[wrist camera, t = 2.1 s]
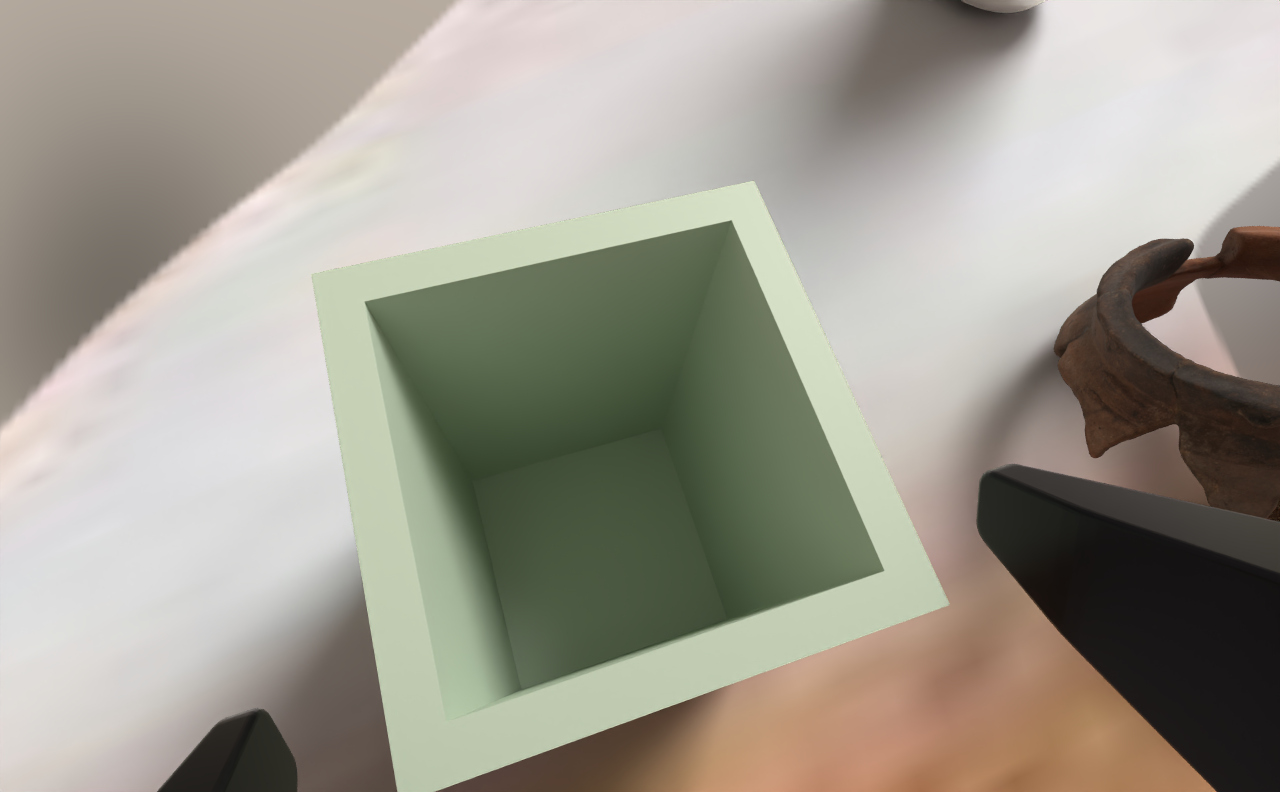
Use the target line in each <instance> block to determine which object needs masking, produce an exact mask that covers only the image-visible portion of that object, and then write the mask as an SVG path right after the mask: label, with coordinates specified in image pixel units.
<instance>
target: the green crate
mask: <svg viewBox="0 0 1280 792" xmlns="http://www.w3.org/2000/svg"><path fill="white" fill-rule="evenodd" d="M311 276H312V282H313V288H314V294H315V300H316V306H317V312H318V318H319V324H320V330H321V336H322V342H323V348H324V354H325V360H326V366H327V372H328V378H329V384H330V390H331V396H332V402H333V408H334V414H335V420H336V426H337V432H338V438H339V444H340V450H341V456H342V462H343V468H344V474H345V480H346V486H347V492H348V498H349V504H350V510H351V516H352V522H353V528H354V534H355V540H356V546H357V552H358V558H359V564H360V570H361V576H362V582H363V588H364V594H365V600H366V606H367V612H368V618H369V624H370V630H371V636H372V642H373V648H374V654H375V660H376V666H377V672H378V678H379V684H380V690H381V696H382V702H383V708H384V714H385V720H386V726H387V732H388V738H389V744H390V750H391V756H392V762H393V768H394V774H395V780H396V786H397V792H435V791H438V790H441V789H444V788H446V787H449V786H452V785H455V784H457V783H460V782H463V781H466V780H468V779H471V778H474V777H477V776H480V775H482V774H485V773H488V772H491V771H493V770H496V769H499V768H502V767H504V766H507V765H510V764H513V763H515V762H518V761H521V760H524V759H526V758H529V757H532V756H535V755H537V754H540V753H543V752H546V751H548V750H551V749H554V748H557V747H559V746H562V745H565V744H568V743H570V742H573V741H576V740H579V739H582V738H584V737H587V736H590V735H593V734H595V733H598V732H601V731H604V730H606V729H609V728H612V727H615V726H617V725H620V724H623V723H626V722H628V721H631V720H634V719H637V718H639V717H642V716H645V715H648V714H650V713H653V712H656V711H659V710H661V709H664V708H667V707H670V706H672V705H675V704H678V703H681V702H684V701H686V700H689V699H692V698H695V697H697V696H700V695H703V694H706V693H708V692H711V691H714V690H717V689H719V688H722V687H725V686H728V685H730V684H733V683H736V682H739V681H741V680H744V679H747V678H750V677H752V676H755V675H758V674H761V673H763V672H766V671H769V670H772V669H774V668H777V667H780V666H783V665H785V664H788V663H791V662H794V661H797V660H799V659H802V658H805V657H808V656H810V655H813V654H816V653H819V652H821V651H824V650H827V649H830V648H832V647H835V646H838V645H841V644H843V643H846V642H849V641H852V640H854V639H857V638H860V637H863V636H865V635H868V634H871V633H874V632H876V631H879V630H882V629H885V628H887V627H890V626H893V625H896V624H899V623H901V622H904V621H907V620H910V619H912V618H915V617H918V616H921V615H923V614H926V613H929V612H932V611H934V610H937V609H940V608H943V607H945V606H948V605H950V604H949V602H948V600H947V597H946V595H945V593H944V591H943V589H942V587H941V584H940V582H939V580H938V578H937V576H936V574H935V571H934V569H933V567H932V565H931V563H930V561H929V558H928V556H927V554H926V552H925V550H924V548H923V545H922V543H921V541H920V539H919V537H918V535H917V532H916V530H915V528H914V526H913V524H912V522H911V519H910V517H909V515H908V513H907V511H906V509H905V506H904V504H903V502H902V500H901V498H900V496H899V493H898V491H897V489H896V487H895V485H894V483H893V480H892V478H891V476H890V474H889V472H888V470H887V467H886V465H885V463H884V461H883V459H882V457H881V454H880V452H879V450H878V448H877V446H876V444H875V441H874V439H873V437H872V435H871V433H870V431H869V428H868V426H867V424H866V422H865V420H864V418H863V415H862V413H861V411H860V409H859V407H858V405H857V402H856V400H855V398H854V396H853V394H852V392H851V389H850V387H849V385H848V383H847V381H846V379H845V376H844V374H843V372H842V370H841V368H840V366H839V363H838V361H837V359H836V357H835V355H834V353H833V350H832V348H831V346H830V344H829V342H828V340H827V337H826V335H825V333H824V331H823V329H822V327H821V324H820V322H819V320H818V318H817V316H816V314H815V311H814V309H813V307H812V305H811V303H810V301H809V298H808V296H807V294H806V292H805V290H804V288H803V285H802V283H801V281H800V279H799V277H798V275H797V272H796V270H795V268H794V266H793V264H792V262H791V259H790V257H789V255H788V253H787V251H786V249H785V246H784V244H783V242H782V240H781V238H780V236H779V233H778V231H777V229H776V227H775V225H774V223H773V220H772V218H771V216H770V214H769V212H768V210H767V207H766V205H765V203H764V201H763V199H762V197H761V194H760V192H759V190H758V188H757V186H756V184H755V181H750V182H745V183H741V184H736V185H731V186H726V187H722V188H717V189H712V190H707V191H703V192H698V193H693V194H688V195H684V196H679V197H674V198H669V199H665V200H660V201H655V202H650V203H646V204H641V205H636V206H631V207H627V208H622V209H617V210H613V211H608V212H603V213H598V214H594V215H589V216H584V217H579V218H575V219H570V220H565V221H560V222H556V223H551V224H546V225H541V226H537V227H532V228H527V229H522V230H518V231H513V232H508V233H503V234H499V235H494V236H489V237H485V238H480V239H475V240H470V241H466V242H461V243H456V244H451V245H447V246H442V247H437V248H432V249H428V250H423V251H418V252H413V253H409V254H404V255H399V256H394V257H390V258H385V259H380V260H375V261H371V262H366V263H361V264H357V265H352V266H347V267H342V268H338V269H333V270H328V271H323V272H319V273H314V274H311Z"/></svg>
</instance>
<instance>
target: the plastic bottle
mask: <svg viewBox="0 0 1280 792" xmlns="http://www.w3.org/2000/svg"><path fill="white" fill-rule="evenodd" d="M961 1H963V2H965V3H967V4H969V5H972V6H974V7H976V8H980V9H984V10H987V11H992V12H999V13H1015V12H1020V11H1025V10H1027V9H1030V8H1032V7H1034V6H1036V5H1038V4H1040V3H1042V2H1045V1H1047V0H961Z"/></svg>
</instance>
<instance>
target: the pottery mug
mask: <svg viewBox="0 0 1280 792" xmlns="http://www.w3.org/2000/svg"><path fill="white" fill-rule="evenodd" d="M1193 248H1194V244H1193V242H1192V241H1191V240H1189V239H1158V240H1153V241H1150V242H1148V243H1146V244H1144V245H1142V246H1139V247H1138V248H1136V249H1134V250H1132V251H1130V252H1129V253H1128V254H1127V255H1126V256H1124V257H1123V258H1121V259H1120V260H1118V261H1116V262H1115V263H1114V264H1113V265H1112V266H1111V267H1110V268H1109V269H1108V270H1107V271H1106V273H1105V274H1104V275H1103V277H1102V279H1101V281H1100V283H1099V286H1098V289H1097V294H1096V295H1094V296H1093V297H1091V298H1090V299H1088V300H1087V301H1085V302H1084V303H1083V304H1082V305H1080V306H1079V307H1078V308H1077V309H1076V310H1075V311H1074V312H1073V313H1072V314H1071V315H1070V316H1069V317H1068V318H1067V320H1066V321H1065V322H1064V324H1063V325H1062V327H1061V329H1060V332H1059V335H1058V337H1057V340H1056V342H1055V345H1054V352H1055V354H1056V355H1057V356H1059V357H1060V360H1059V362H1058V369H1059V371H1060V373H1061V376H1062V378H1063V380H1064V381H1065V382H1066V384H1067V385H1068V386H1069V387H1070V388H1071V389H1072V391H1073V393H1074V395H1075V396H1076V398H1077V399H1078V401H1079V402H1080V405H1081V408H1082V411H1083V416H1084V418H1085V436H1086V442H1087V446H1088V450H1089V454H1090V455H1091V457H1093V458H1098V457H1100V456H1102V455H1103V453H1104V452H1105V451H1107V450H1108V449H1109V448H1110V447H1113V446H1115V445H1117V444H1119V443H1121V442H1123V441H1126V440H1130V439H1133V438H1136V437H1138V436H1141V435H1143V434H1146V433H1148V432H1152V431H1155V430H1157V429H1159V428H1163V427H1166V426H1169V425H1172V424H1177V425H1178V426H1179V450H1180V453H1181V456H1182V458H1183V460H1184V462H1185V463H1186V465H1187V466H1188V467H1189V469H1190V470H1191V472H1192V473H1193V475H1194V476H1195V477H1196V479H1197V480H1198V481H1199V482H1200V484H1201V485H1202V486H1203V488H1204V491H1205V494H1206V497H1207V500H1208V503H1209V504H1210V506H1211V507H1214V508H1219V509H1223V510H1228V511H1233V512H1237V513H1242V514H1246V515H1251V516H1255V517H1260V518H1265V519H1268V517H1269V516H1270V515H1271V513H1272V512H1273V511H1274V510H1275V509H1276V507H1277V505H1278V503H1279V500H1280V386H1279V385H1272V384H1267V383H1263V382H1258V381H1252V380H1247V379H1243V378H1239V377H1235V376H1232V375H1227V374H1224V373H1221V372H1217V371H1214V370H1212V369H1210V368H1208V367H1205V366H1203V365H1199V364H1196V363H1194V362H1193V361H1192V360H1189V359H1186V358H1184V357H1183V356H1182V355H1180V354H1178V353H1176V352H1174V351H1172V350H1171V349H1169V348H1168V347H1167V346H1166V345H1164V344H1162V343H1161V342H1160V341H1159V340H1158V339H1156V338H1155V337H1154V336H1152V335H1151V334H1150V333H1149V332H1148V331H1147V330H1146V329H1145V328H1144V327H1143V326H1142V324H1141V323H1144V322H1147V321H1149V320H1152V319H1154V318H1157V317H1160V316H1162V315H1164V314H1166V313H1167V312H1169V311H1170V310H1171V309H1172V308H1173V306H1174V304H1175V302H1176V299H1177V296H1178V294H1179V293H1180V291H1181V290H1182V289H1183V288H1185V287H1186V286H1187V285H1189V284H1190V283H1192V282H1193V281H1195V280H1196V279H1199V278H1219V277H1228V278H1250V279H1267V280H1276V281H1280V227H1265V226H1249V227H1237V228H1233V229H1231V230H1230V231H1229V232H1228V234H1227V236H1226V238H1225V240H1224V241H1223V244H1222V249H1221V252H1220V253H1219V254H1217V255H1216V256H1214V257H1207V258H1196V259H1189V260H1187V259H1188V258H1189V256H1190V255H1191V253H1192V251H1193Z"/></svg>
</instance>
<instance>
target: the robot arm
mask: <svg viewBox="0 0 1280 792" xmlns="http://www.w3.org/2000/svg"><path fill="white" fill-rule="evenodd" d="M977 528H978V531H979V534H980V536H981V537H982V539H983V541H984V542H985V543H986V545H987V546H988V547H989V548H990V549H991V551H992V552H993V553H994V554H995V555H996V557H997V558H998V559H999V560H1000V562H1001V563H1002V564H1003V565H1004V566H1005V568H1006V569H1007V570H1008V571H1009V572H1010V574H1011V575H1012V576H1013V577H1014V578H1015V580H1016V581H1017V582H1018V583H1019V585H1020V586H1021V587H1022V588H1023V589H1024V591H1025V592H1026V593H1027V594H1028V595H1029V597H1030V598H1031V599H1032V600H1033V601H1034V603H1035V604H1036V605H1037V606H1038V607H1039V609H1040V610H1041V611H1042V612H1043V614H1044V615H1045V616H1046V617H1047V618H1048V619H1049V621H1050V622H1051V623H1052V624H1053V625H1054V626H1055V628H1056V629H1057V630H1058V631H1059V632H1060V633H1061V634H1062V635H1063V636H1064V638H1065V639H1066V640H1067V641H1068V642H1069V643H1070V644H1071V645H1072V646H1073V647H1074V648H1075V649H1076V650H1077V651H1078V652H1079V653H1080V654H1081V655H1082V656H1083V657H1084V658H1085V659H1086V660H1087V661H1088V662H1089V663H1090V664H1091V665H1092V666H1093V667H1094V668H1095V669H1096V670H1097V671H1098V672H1099V673H1100V674H1101V675H1102V676H1103V677H1104V678H1105V679H1106V680H1107V681H1108V682H1109V683H1110V684H1111V685H1112V687H1113V688H1114V689H1115V690H1116V691H1117V692H1118V693H1119V694H1120V695H1121V696H1122V697H1123V698H1124V699H1125V700H1126V701H1127V702H1128V703H1129V704H1130V705H1131V706H1132V707H1133V708H1134V709H1135V710H1136V711H1137V712H1138V713H1139V714H1140V715H1141V716H1142V717H1143V718H1144V719H1145V720H1146V721H1147V722H1148V723H1149V724H1150V725H1151V726H1152V727H1153V728H1154V729H1155V730H1156V731H1157V732H1158V733H1159V734H1160V735H1161V736H1162V737H1163V738H1164V739H1165V740H1166V741H1167V742H1168V743H1169V744H1170V745H1171V746H1172V747H1173V748H1174V749H1175V750H1176V751H1177V752H1178V753H1179V754H1180V755H1181V756H1182V757H1183V758H1184V759H1185V760H1186V761H1187V762H1188V763H1189V764H1190V765H1191V766H1192V767H1193V768H1194V769H1195V770H1196V771H1197V772H1198V773H1199V774H1200V775H1201V776H1202V777H1203V778H1204V779H1205V780H1206V781H1207V782H1208V783H1209V784H1210V785H1211V786H1212V787H1213V788H1214V789H1215V790H1216V791H1217V792H1280V522H1278V521H1274V520H1269V519H1265V518H1260V517H1255V516H1251V515H1246V514H1242V513H1237V512H1233V511H1228V510H1223V509H1219V508H1214V507H1210V506H1205V505H1201V504H1196V503H1191V502H1187V501H1182V500H1178V499H1173V498H1169V497H1164V496H1159V495H1155V494H1150V493H1146V492H1141V491H1137V490H1132V489H1128V488H1123V487H1118V486H1114V485H1109V484H1105V483H1100V482H1096V481H1091V480H1086V479H1082V478H1077V477H1073V476H1068V475H1064V474H1059V473H1054V472H1050V471H1045V470H1041V469H1036V468H1032V467H1027V466H1022V465H1018V464H1008V465H1004V466H1001V467H998V468H995V469H992V470H989V471H987V472H985V473H984V474H983V475H982V477H981V479H980V482H979V493H978V507H977ZM157 792H297V768H296V763H295V760H294V757H293V755H292V753H291V751H290V749H289V747H288V746H287V744H286V742H285V741H284V739H283V737H282V735H281V734H280V732H279V730H278V728H277V727H276V725H275V723H274V721H273V720H272V718H271V716H270V715H269V714H268V712H266V711H265V710H264V709H258V708H257V709H252V710H249V711H246V712H243V713H240V714H237V715H234V716H231V717H228V718H225V719H223V720H221V721H220V722H218V723H217V724H216V725H215V726H214V727H213V728H212V729H211V730H210V732H209V733H208V734H207V735H206V736H205V737H204V738H203V740H202V741H201V742H200V743H199V744H198V745H197V746H196V748H195V749H194V750H193V751H192V752H191V753H190V755H189V756H188V757H187V758H186V759H185V760H184V761H183V763H182V764H181V765H180V766H179V767H178V768H177V769H176V771H175V772H174V773H173V774H172V775H171V776H170V777H169V779H168V780H167V781H166V782H165V783H164V784H163V786H162V787H161V788H160V789H159V790H158V791H157Z"/></svg>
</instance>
